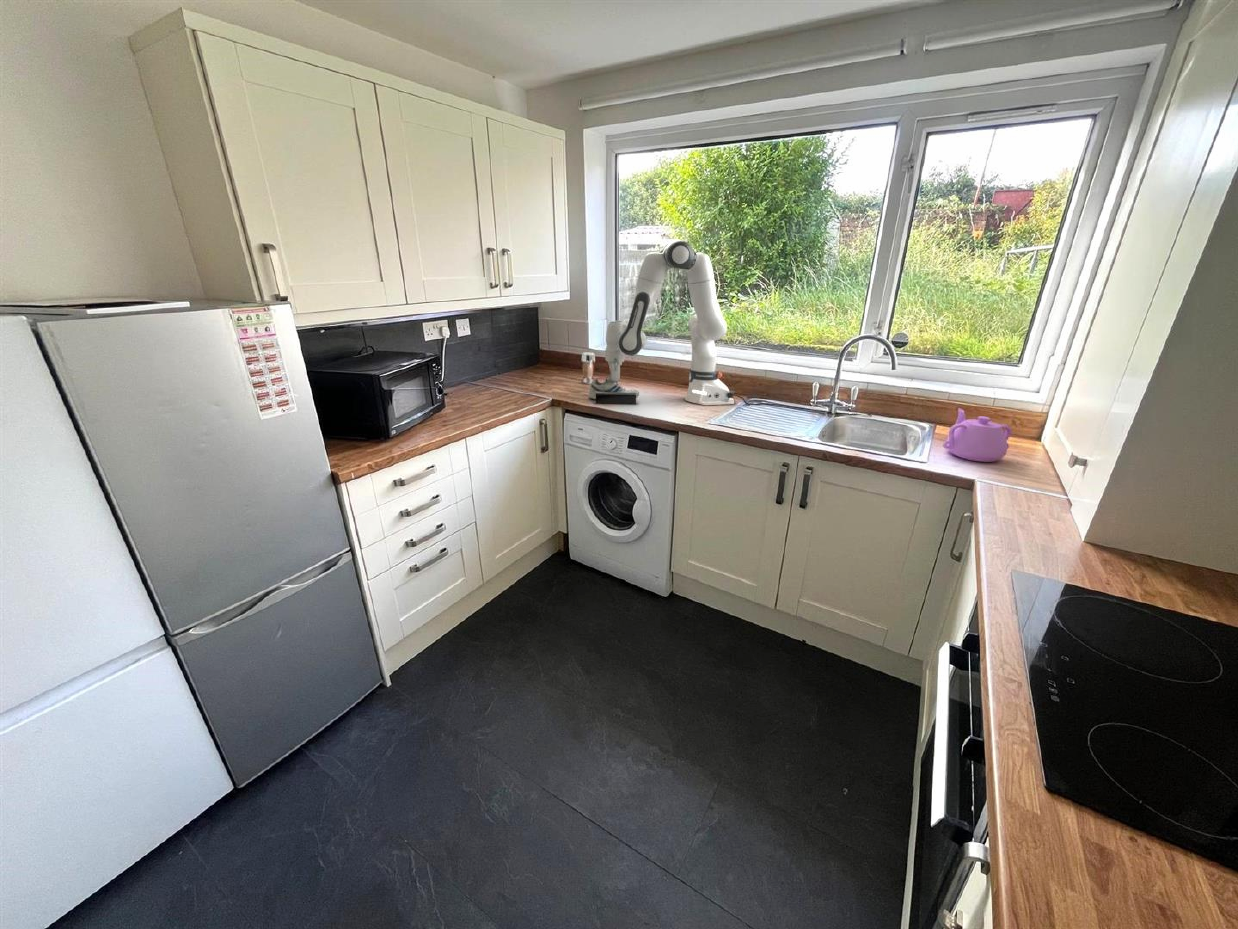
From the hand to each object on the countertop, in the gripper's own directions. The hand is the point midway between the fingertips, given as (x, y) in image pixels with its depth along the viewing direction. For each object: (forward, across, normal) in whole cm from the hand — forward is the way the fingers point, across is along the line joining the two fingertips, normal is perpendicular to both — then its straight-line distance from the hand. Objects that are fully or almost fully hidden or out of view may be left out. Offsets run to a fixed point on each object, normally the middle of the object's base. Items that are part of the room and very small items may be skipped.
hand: (614, 387), depth 232 cm
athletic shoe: (+5, -6, 0) cm, 8 cm away
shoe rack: (+5, -12, 0) cm, 13 cm away
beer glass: (+5, +30, +12) cm, 33 cm away
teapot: (+4, -74, -120) cm, 141 cm away
